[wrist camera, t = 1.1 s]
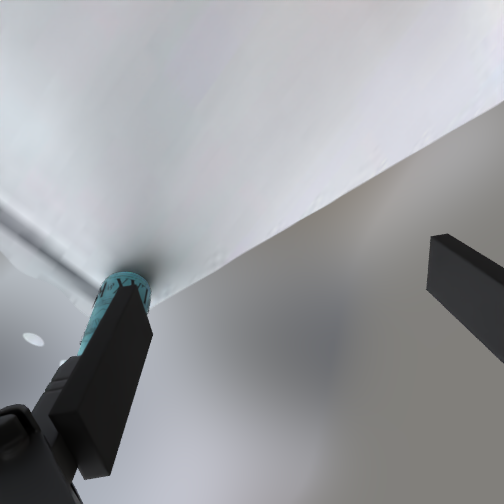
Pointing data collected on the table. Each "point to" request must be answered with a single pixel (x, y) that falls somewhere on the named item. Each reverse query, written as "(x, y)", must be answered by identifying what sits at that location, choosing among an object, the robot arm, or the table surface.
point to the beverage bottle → (107, 295)
